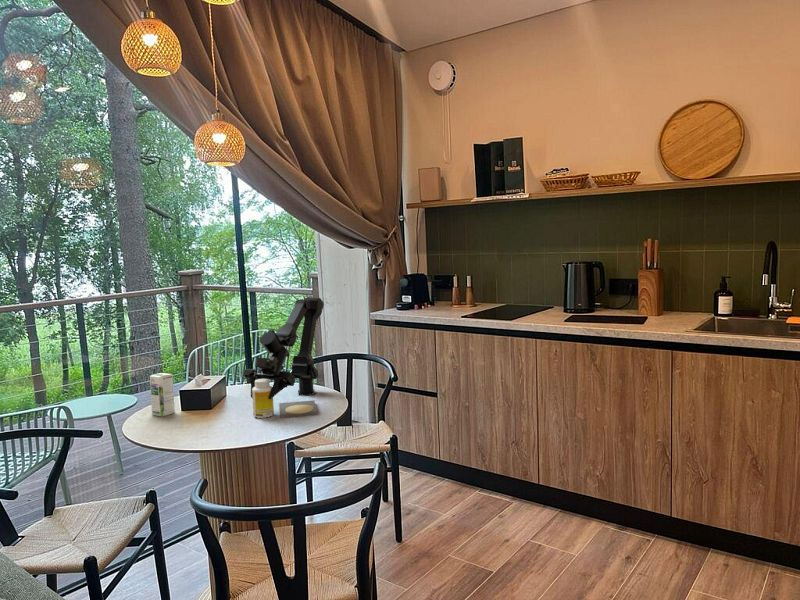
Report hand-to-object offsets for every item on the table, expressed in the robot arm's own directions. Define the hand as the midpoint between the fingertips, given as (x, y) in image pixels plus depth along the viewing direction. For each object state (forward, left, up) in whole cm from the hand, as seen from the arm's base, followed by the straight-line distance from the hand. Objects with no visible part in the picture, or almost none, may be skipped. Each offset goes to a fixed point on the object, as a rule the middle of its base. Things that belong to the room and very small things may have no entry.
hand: (260, 398), depth 203 cm
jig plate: (-4, +13, -7) cm, 15 cm away
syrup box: (-15, -35, -7) cm, 38 cm away
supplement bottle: (-1, +1, -7) cm, 7 cm away
